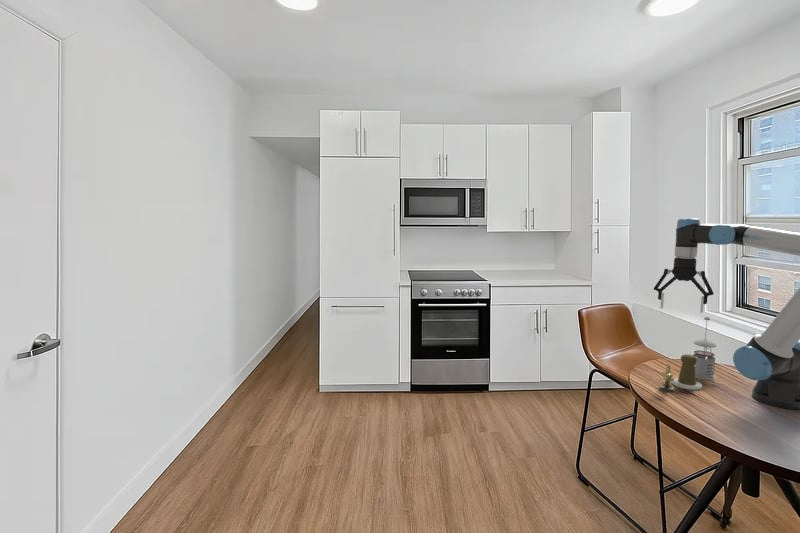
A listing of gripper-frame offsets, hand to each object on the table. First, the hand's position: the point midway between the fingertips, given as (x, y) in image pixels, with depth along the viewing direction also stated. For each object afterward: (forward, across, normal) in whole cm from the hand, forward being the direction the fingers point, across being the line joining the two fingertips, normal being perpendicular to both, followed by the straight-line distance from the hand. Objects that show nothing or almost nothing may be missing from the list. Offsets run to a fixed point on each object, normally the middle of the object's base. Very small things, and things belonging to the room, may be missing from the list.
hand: (681, 310), depth 180 cm
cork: (+28, -4, +6) cm, 29 cm away
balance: (+29, +2, +15) cm, 32 cm away
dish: (+29, -4, +6) cm, 30 cm away
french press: (+29, -9, -12) cm, 33 cm away
